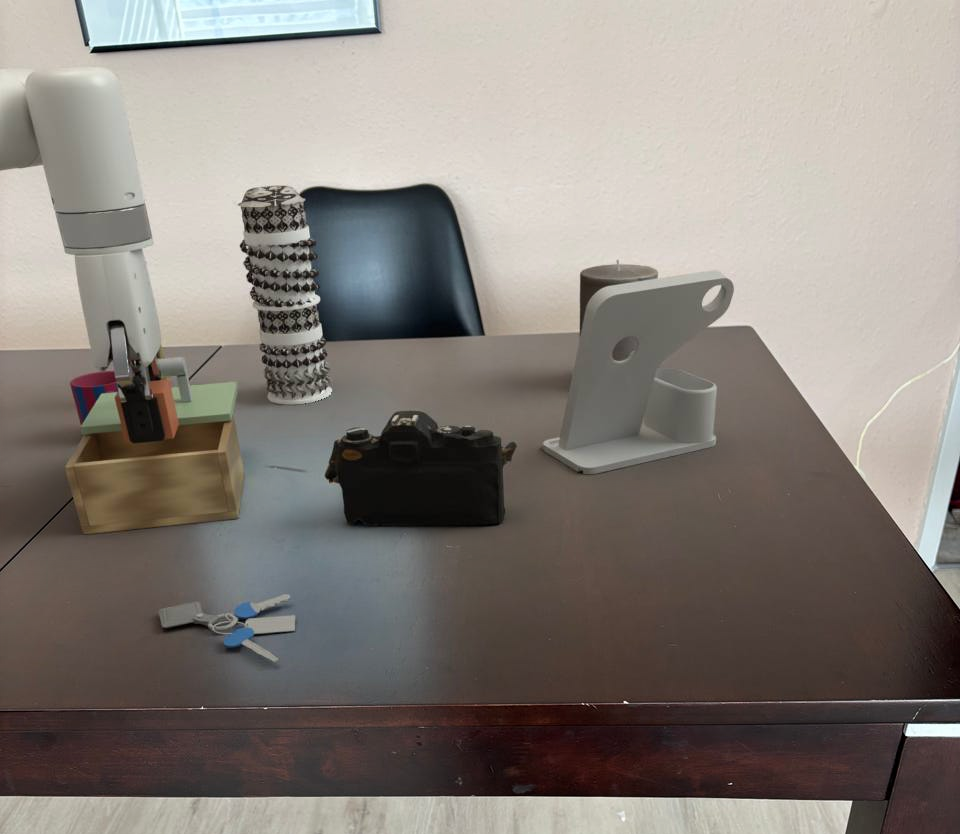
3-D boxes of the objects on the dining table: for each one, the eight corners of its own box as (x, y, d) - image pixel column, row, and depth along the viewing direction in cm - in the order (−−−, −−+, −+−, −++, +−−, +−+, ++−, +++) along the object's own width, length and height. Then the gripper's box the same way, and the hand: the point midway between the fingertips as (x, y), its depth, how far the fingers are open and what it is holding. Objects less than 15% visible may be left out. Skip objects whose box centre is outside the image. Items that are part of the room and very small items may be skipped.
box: (83, 534, 94) (64, 467, 90) (104, 489, 104) (88, 427, 100) (238, 518, 95) (225, 451, 92) (244, 475, 105) (233, 413, 102)
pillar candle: (563, 383, 129) (562, 262, 121) (613, 366, 134) (615, 250, 126) (620, 397, 122) (623, 270, 115) (670, 379, 128) (676, 257, 120)
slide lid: (82, 434, 97) (68, 381, 95) (102, 400, 107) (90, 351, 105) (231, 420, 99) (221, 368, 96) (238, 388, 109) (229, 339, 106)
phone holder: (670, 419, 114) (679, 255, 105) (725, 444, 106) (739, 269, 97) (538, 447, 108) (535, 276, 99) (586, 476, 100) (587, 293, 91)
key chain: (142, 624, 78) (140, 615, 77) (217, 581, 84) (215, 572, 83) (275, 669, 71) (273, 659, 71) (346, 618, 77) (345, 609, 77)
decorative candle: (304, 409, 124) (273, 193, 112) (250, 400, 129) (214, 192, 116) (349, 389, 131) (324, 183, 118) (296, 381, 135) (267, 182, 122)
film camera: (497, 474, 102) (493, 379, 97) (527, 521, 91) (524, 416, 86) (324, 496, 99) (311, 399, 94) (335, 547, 89) (321, 440, 83)
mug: (137, 421, 123) (124, 367, 120) (150, 444, 115) (137, 387, 112) (81, 431, 121) (67, 376, 117) (91, 455, 113) (75, 397, 110)
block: (125, 443, 93) (114, 397, 91) (132, 428, 97) (121, 383, 95) (173, 439, 94) (163, 392, 91) (179, 424, 97) (169, 379, 95)
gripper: (80, 220, 93) (126, 410, 102) (38, 249, 78) (96, 466, 88) (161, 214, 93) (199, 403, 103) (135, 241, 79) (182, 458, 88)
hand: (151, 430), depth 95 cm, fingers closed on block, 4 cm apart
